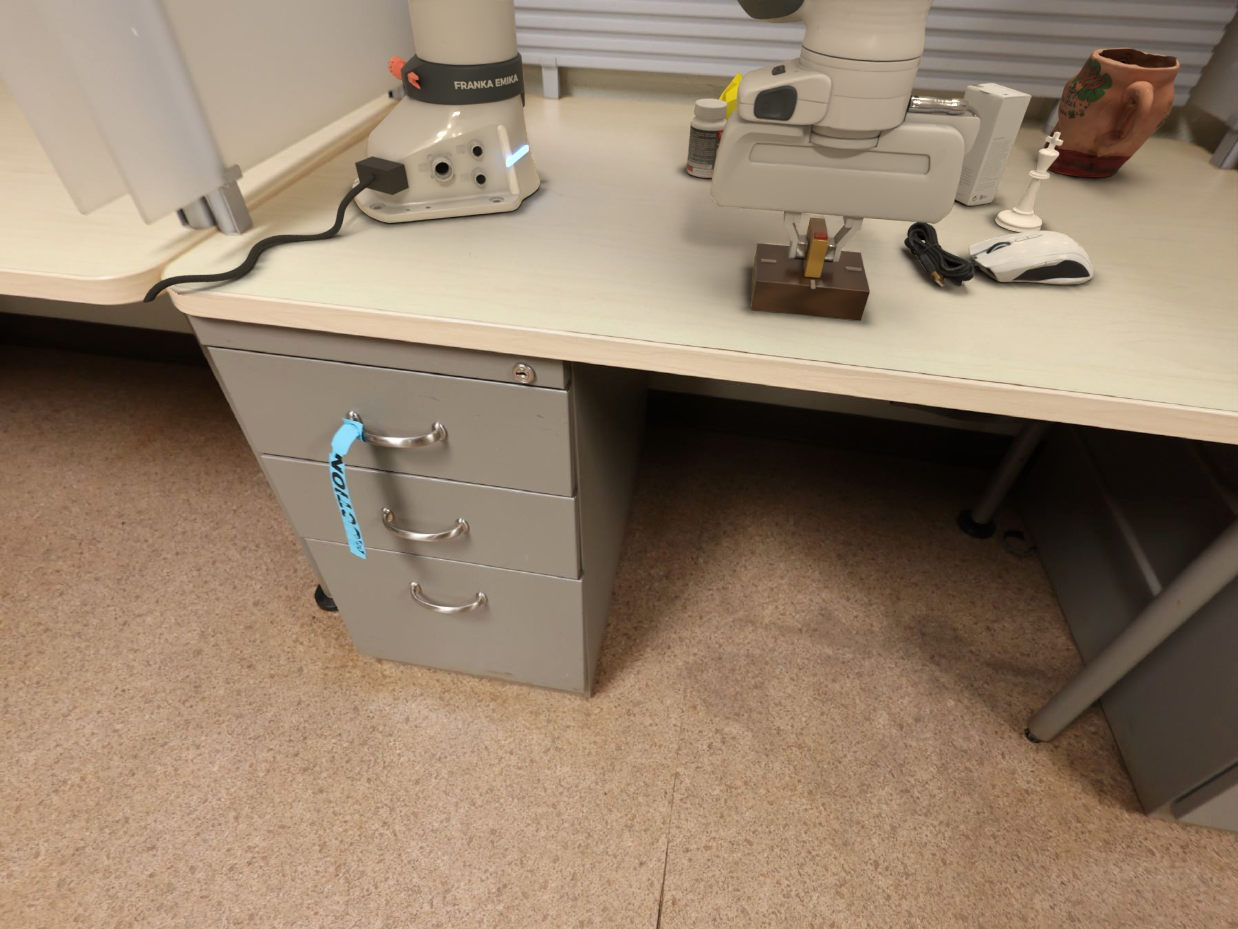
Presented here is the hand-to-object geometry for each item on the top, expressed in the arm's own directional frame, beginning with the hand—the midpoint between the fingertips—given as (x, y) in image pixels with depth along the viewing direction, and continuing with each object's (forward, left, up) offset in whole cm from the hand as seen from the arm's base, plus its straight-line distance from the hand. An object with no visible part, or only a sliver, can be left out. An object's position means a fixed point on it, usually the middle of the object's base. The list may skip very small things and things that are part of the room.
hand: (812, 258), depth 61 cm
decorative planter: (+58, +10, -4) cm, 59 cm away
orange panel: (0, 0, -1) cm, 1 cm away
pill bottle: (+10, +32, -4) cm, 34 cm away
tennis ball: (+18, +36, -4) cm, 41 cm away
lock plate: (0, 0, -4) cm, 4 cm away
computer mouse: (+22, -5, -4) cm, 23 cm away
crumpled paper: (+25, +47, -4) cm, 53 cm away
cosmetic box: (+35, +11, -4) cm, 37 cm away
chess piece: (+34, +2, -4) cm, 34 cm away
